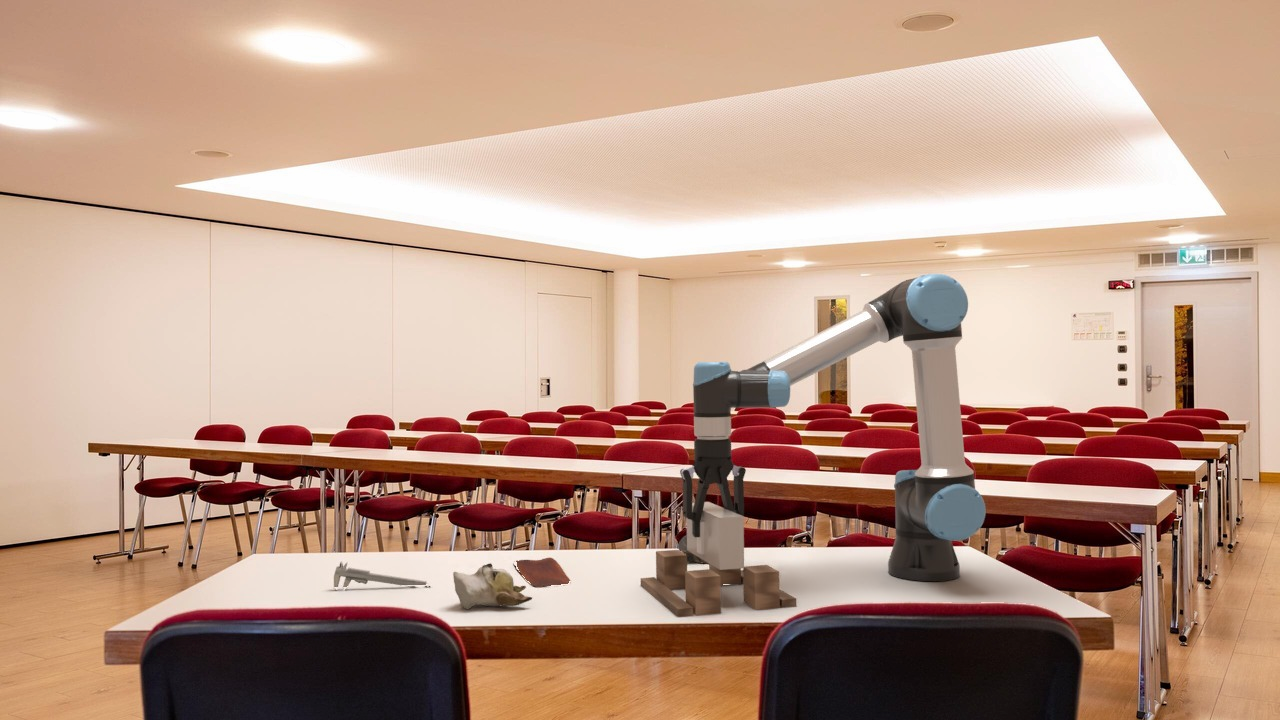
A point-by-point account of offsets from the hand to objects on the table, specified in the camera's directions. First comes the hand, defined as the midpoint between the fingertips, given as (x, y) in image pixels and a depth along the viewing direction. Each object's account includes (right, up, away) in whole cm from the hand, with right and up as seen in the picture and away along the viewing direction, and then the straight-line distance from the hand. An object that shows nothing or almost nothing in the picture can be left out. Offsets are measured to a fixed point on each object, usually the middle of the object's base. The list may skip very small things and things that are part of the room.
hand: (714, 552), depth 187 cm
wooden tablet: (-37, -10, +22) cm, 45 cm away
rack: (0, -9, 0) cm, 9 cm away
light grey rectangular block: (0, -1, 0) cm, 1 cm away
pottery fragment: (0, -9, +36) cm, 38 cm away
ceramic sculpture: (-44, -10, -6) cm, 46 cm away
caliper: (-70, -10, +10) cm, 71 cm away
